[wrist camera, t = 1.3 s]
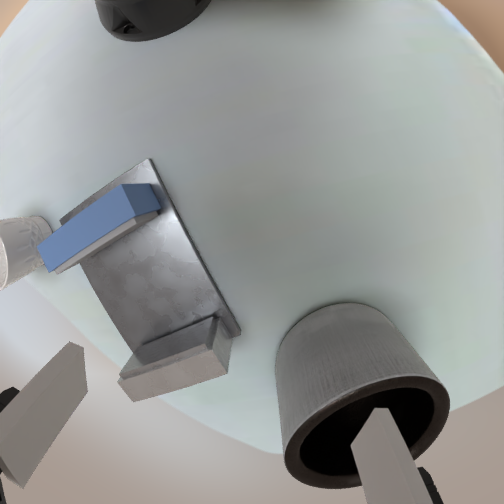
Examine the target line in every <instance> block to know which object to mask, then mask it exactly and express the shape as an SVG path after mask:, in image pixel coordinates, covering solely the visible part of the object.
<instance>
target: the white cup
mask: <svg viewBox="0 0 504 504" xmlns="http://www.w3.org/2000/svg"><path fill="white" fill-rule="evenodd" d="M51 234H52V230H51V228H50V227H49V225H48V223H47V222H46V221H45V220H44V219H43V218H41V217H40V216H30V217H17V218H8V219H2V220H0V291H1V290H2V289H4V288H6V287H7V286H9V285H10V284H12V283H14V282H16V281H17V280H19V279H21V278H23V277H24V276H26V275H28V274H29V273H31V272H32V271H34V270H36V268H38V267H39V266H41V265H43V264H44V262H43V259H42V257H41V255H40V253H39V251H38V249H37V246H38V245H39V244H40V243H41V242H43V241H44V240H45V239H46V238H48V237H49V236H50V235H51Z"/></svg>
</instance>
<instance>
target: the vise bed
mask: <svg viewBox="0 0 504 504" xmlns="http://www.w3.org/2000/svg"><path fill="white" fill-rule="evenodd" d="M137 183H149V184H150V186H151V188H152V190H153V192H154V194H155V196H156V198H157V200H158V202H159V204H160V206H161V209H159V210H157V211H156V212H157V214H158V216H157V217H156V218H154V219H152V220H150V221H149V222H147V223H145V224H144V225H142V226H140V227H138V228H137V229H135V230H133V231H132V232H130V233H128V234H127V235H125V236H123V237H122V238H120V239H118V240H117V241H115V242H113V243H112V244H110V245H109V246H107V247H105V248H104V249H102V250H101V251H99V252H97V253H96V254H94V255H93V256H91V257H90V258H88V259H86V260H85V261H83V262H81V263H80V265H81V267H82V269H83V271H84V272H85V274H86V276H87V278H88V280H89V282H90V284H91V285H92V287H93V289H94V291H95V293H96V294H97V296H98V298H99V300H100V301H101V303H102V305H103V306H104V308H105V310H106V311H107V313H108V315H109V316H110V318H111V320H112V321H113V323H114V324H115V326H116V328H117V329H118V331H119V332H120V334H121V335H122V337H123V338H124V340H125V341H126V343H127V344H128V346H129V347H130V349H131V350H132V352H133V353H134V351H135V350H136V348H137V347H140V346H142V345H145V344H147V343H150V342H152V341H155V340H157V339H160V338H162V337H165V336H167V335H170V334H172V333H175V332H177V331H179V330H182V329H184V328H187V327H189V326H191V325H194V324H196V323H199V322H201V321H203V320H206V319H208V318H210V317H214V318H215V319H217V318H219V317H221V319H222V321H223V323H224V324H225V326H226V328H227V329H228V331H229V333H230V334H231V336H232V338H234V337H236V336H239V335H241V330H240V328H239V326H238V325H237V323H236V321H235V319H234V318H233V316H232V314H231V312H230V310H229V309H228V307H227V305H226V303H225V302H224V300H223V298H222V296H221V294H220V293H219V291H218V289H217V287H216V285H215V283H214V282H213V280H212V278H211V276H210V274H209V272H208V271H207V269H206V267H205V265H204V263H203V261H202V259H201V258H200V256H199V254H198V252H197V250H196V248H195V246H194V244H193V242H192V240H191V239H190V237H189V235H188V233H187V231H186V229H185V227H184V225H183V223H182V221H181V219H180V217H179V215H178V213H177V211H176V209H175V207H174V205H173V203H172V201H171V199H170V197H169V195H168V193H167V191H166V189H165V187H164V185H163V183H162V181H161V179H160V177H159V175H158V173H157V171H156V169H155V167H154V165H153V162H152V160H151V159H146V160H144V161H143V162H141V163H140V164H138V165H136V166H135V167H133V168H132V169H130V170H129V171H127V172H125V173H124V174H122V175H121V176H119V177H118V178H116V179H115V180H113V181H112V182H110V183H109V184H108V185H106V186H105V187H103V188H102V189H100V190H99V191H97V192H96V193H95V194H93V195H92V196H90V197H89V198H88V199H86V200H85V201H84V202H82V203H81V204H80V205H78V206H77V207H76V208H74V209H73V210H72V211H70V212H69V213H68V214H66V215H65V216H64V217H63V218H61V219H60V223H61V225H62V226H63V225H64V224H65V223H67V222H68V221H69V220H70V219H72V218H73V217H74V216H76V215H77V214H78V213H80V212H81V211H83V210H84V209H85V208H87V207H88V206H89V205H91V204H92V203H94V202H95V201H97V200H98V199H99V198H101V197H102V196H104V195H105V194H107V193H108V192H110V191H111V190H113V189H114V188H116V187H117V186H119V185H120V184H137Z"/></svg>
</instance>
